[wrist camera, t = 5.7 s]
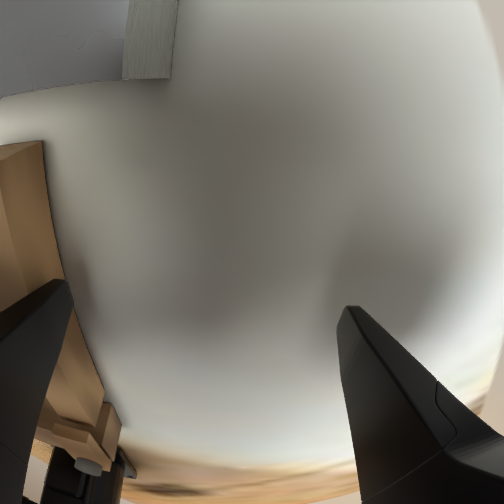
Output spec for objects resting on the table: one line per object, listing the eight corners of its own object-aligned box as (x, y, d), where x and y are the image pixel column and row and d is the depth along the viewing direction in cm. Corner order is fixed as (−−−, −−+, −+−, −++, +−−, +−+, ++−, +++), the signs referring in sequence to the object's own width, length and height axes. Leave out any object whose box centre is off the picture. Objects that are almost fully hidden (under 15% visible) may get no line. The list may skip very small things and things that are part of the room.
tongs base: (121, 424, 15) (114, 461, 13) (27, 400, 14) (14, 430, 12) (45, 139, 7) (-9, 166, 5) (-72, 158, 6) (-113, 183, 4)
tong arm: (119, 423, 14) (108, 479, 11) (91, 417, 14) (77, 471, 11) (41, 140, 7) (-48, 189, 4) (0, 145, 7) (-85, 193, 4)
